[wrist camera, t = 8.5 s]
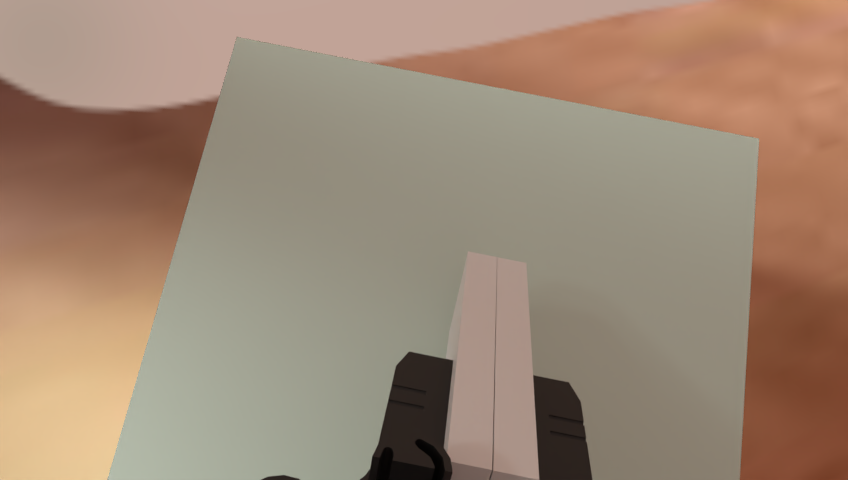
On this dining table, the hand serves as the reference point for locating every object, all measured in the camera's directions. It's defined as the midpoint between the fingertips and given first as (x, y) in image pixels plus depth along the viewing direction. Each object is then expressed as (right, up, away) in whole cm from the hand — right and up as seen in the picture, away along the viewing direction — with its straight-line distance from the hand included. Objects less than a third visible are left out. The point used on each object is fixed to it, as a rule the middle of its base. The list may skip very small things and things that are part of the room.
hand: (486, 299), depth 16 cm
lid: (-1, -1, +2) cm, 2 cm away
